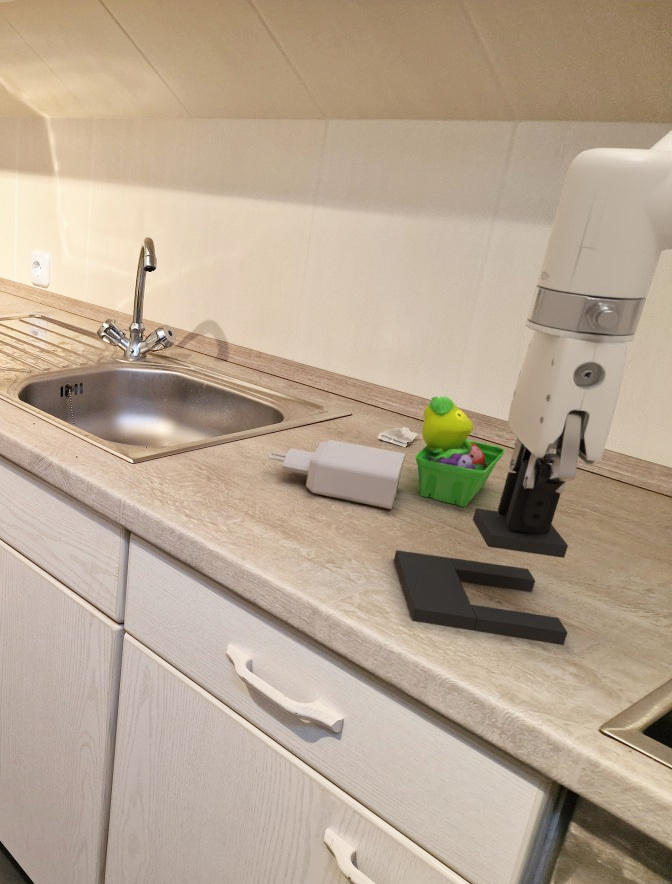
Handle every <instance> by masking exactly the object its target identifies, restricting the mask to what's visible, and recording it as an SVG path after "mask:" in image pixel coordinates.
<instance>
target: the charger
mask: <svg viewBox="0 0 672 884" xmlns="http://www.w3.org/2000/svg"><path fill="white" fill-rule="evenodd" d="M405 457H406V453H405V452H400V451H394V450H388V449H383V448H377V447H372V446H366V445H361V444H356V443H351V442H344V441H340V440H334V439H328V440H325V441H322V442H320V443H319V445H318V447H317V448H316V450H315V451H314V452H313V451H309V450H302V449H297V448H292V447H290V449H288V451H287V453H283V452H277V451H272V452H271V454H270V455H268V458H267V459H268V460H273V461H278V462H283V463H282V470H283V472H289V473H294V474H299V475H304V476H307V478H306V483H305V487H306V489H308V490H309V491H310V492H311V493H312V494H316V495H321V496H326V497H331V498H335V499H340V500H344V501H350V502H354V503H359V504H364V505H369V506H373V507H379V508H383V509H387V510H392V507H393V506H394V502H395V498H396V495H397V492H398V489H399V484H400V480H401V477H402V472H403V471H402V470H403V468H404V467H403V466H404V462H405Z"/></svg>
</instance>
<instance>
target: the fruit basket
mask: <svg viewBox="0 0 672 884" xmlns="http://www.w3.org/2000/svg"><path fill="white" fill-rule="evenodd" d="M423 418H424V419H423V424H422V430H421V431H422V432H421V434H422V439H423V441H424V443H425V444H426V445H425V446H424V447H423V448H422V449H421V450H419V452H418V453H416V454H415V461H416V462H415V463H416V464H417V473H418V474H417V475H418V491H419V496H421V497H425V498H430V499H432V500H434V501H439V502H443V503H448V504H451V505H456V506H459V507H462V508H465V507H467V505H468V504H469V503H470V502H471V501H472V500H473V499H474V497H475V496H476V495H478V493H479V492H480V490H481V489H482V488H483V487H484V486H485V484H486V483H487V480H488V479H489V477H490V476H491V474H492V472H493V470H494V469H495V466H496V465H497V464H498V462H499V461H500V460H501V458H502V457H503V455H504V453H505V452H506V449H504V448H502V447H500V446H496V445H492V444H487V443H483V442H478V441H473V440H471V439H468V437H469V435H470V434H471V433H472V432H473V431H474V424H473V422H472V420H471V419H470V418H469V417H468V416H467V414H466V413H465V412H464V411H462V410H461V409H460V408H459V407H458V406H457V405H456V404H455V403H454V401H453V400H452V399H451V398H449V397H447V396H440V397H438V396H433V397H431V400H430V402H429V403H428V404H427V405H426V406H425V408H424V410H423Z"/></svg>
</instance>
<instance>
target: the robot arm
mask: <svg viewBox="0 0 672 884" xmlns="http://www.w3.org/2000/svg"><path fill="white" fill-rule="evenodd" d="M549 233H550V234H549V237H548V239H547V244H546V248H545V252H544V255H543V260H542V263H541V267H540V270H539V274H538V278H537V282H536V286H535V289H534V292H533V296H532V300H531V304H530V308H529V311H528V315H527V319H526V323H525V327H527V328H528V329H530V330H532V331H533V333H532V336H531V339H530V341H529V343H528V347H527V351H526V353H525V356H524V358H523V362H522V364H521V368H520V372H519V373H518V377H517V381H516V384H515V388H514V391H513V395H512V399H511V402H510V407H509V412H508V416H507V417H508V418H507V421H508V422H507V424H508V428H509V429H510V431H511V432H512V433H513V434H514V436H515V437H516V441H515V443H514V448H513V451H512V455H511V458H510V461H509V471H507V475H506V479H505V482H504V486H503V490H502V493H501V497H500V500H499V503H498V507H497V511H498V512H499V514H500V515H501V516H506V517H507V513H508V510H509V506H510V503H511V499H512V495H513V492H514V488H515V485H516V481H517V478H518V474H519V471H520V467H521V464H522V461H523V460H529V463H528V467H527V471H526V474H525V478H524V482H523V485H518V486H517V490H516V493H515V497H514V500H513V504H512V507H511V511H510V514H509V518H508V521H507V526H508V528H509V529H510V530H513V531H520V532H527V533H534V534H541V535H545V534H547V533H548V532H549V530H550V527H551V524H552V525H553V520H554V517H555V514H556V511H557V507H558V504H559V501H560V498H561V494H562V493H563V492H564V489H565V486H566V482H571V481H574V480H575V478H576V475H577V470H578V462H579V461H578V460H579V459H581V460H582V461H583V462H584V463H585V464H587V465H596V464H598V463H599V462H600V461H601V459H602V457H603V455H604V451H605V449H606V445H607V441H608V437H609V433H610V430H611V427H612V423H613V419H614V416H615V411H616V407H617V403H618V399H619V395H620V391H621V386H622V382H623V377H624V371H625V364H626V358H627V350H628V343H630V342H633V341H634V339H635V335H636V332H637V329H638V326H639V323H640V319H641V317H642V314H643V310H644V307H645V304H646V301H647V297H648V295H649V292H650V288H651V285H652V282H653V279H654V276H655V273H656V271H657V270H656V269H657V266H658V263H659V261H660V258H661V254H662V252H664V251H666V250H670V251H671V250H672V129H671V130H670V131H669V132H667V133H666V134H665V135H664V136H663V137H662V138H660V139H659V140H658V141H657V142H655V144H653V145H652V146H651V147H650V148H648V149H647V148H646V149H645V148H627V147H626V148H625V147H623V148H622V147H596V148H590V149H586V150H583V151H582V152H579V153H578V154H577V155H576V156H575V157H573V159H572V161H571V162H570V164H569V166H568V168H567V171H566V175H565V178H564V182H563V184H562V189H561V192H560V196H559V200H558V203H557V208H556V211H555V215H554V219H553V222H552V226H551V230H550V232H549ZM555 450H556V451H555ZM554 451H555V453H554ZM541 462H544V463H548V464H550V465H551V466H546V465H544V466H543V467H542V468H541V469H540V470H539V468H540V464H541Z"/></svg>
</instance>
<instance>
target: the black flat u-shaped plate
mask: <svg viewBox="0 0 672 884" xmlns="http://www.w3.org/2000/svg"><path fill="white" fill-rule="evenodd" d="M393 563H394V565H395V569H396V572H397V575H398V579H399V582H400V585H401V589H402V592H403V595H404V598H405V601H406V604H407V608H408V610H409V614H410V617H411V620H412V621H416V622H422V623H429V624H435V625H441V626H447V627H451V628H452V627H453V628H459V629H466V630H471V631H478V632H483V633H489V634H496V635H503V636H508V637H509V636H510V637H515V638H521V639H528V640H533V641H541V642H546V643H553V644H558V645H559V644H560V645H565V642H566V639H567V636H568V633H569V632H568V630H567V629H566V628H565V626H564V624H563V623H562V621H561V620H560V618H559V617H555V616H550V615H543V614H537V613H530V612H523V611H518V610H517V611H516V610H510V609H503V608H498V607H491V606H483V605H478V604H471V602H470V599H469V597H468V595H467V592H466V591H465V588H464V586H463V584H462V582H464V583H472V584H477V585H485V586H491V587H498V588H506V589H512V590H519V591H525V592H531V593H532V592H533V589H534V586H535V583H536V579H535V577H534V576H533V575H532V573H531V572H530V570H529V569H528V568H525V567H523V568H522V567H517V566H510V565H503V564H498V563H489V562H482V561H475V560H469V559H461V558H453V557H446V556H439V555H433V554H425V553H419V552H411V551H404V550H399V549H398V550H395V554H394V558H393Z"/></svg>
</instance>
